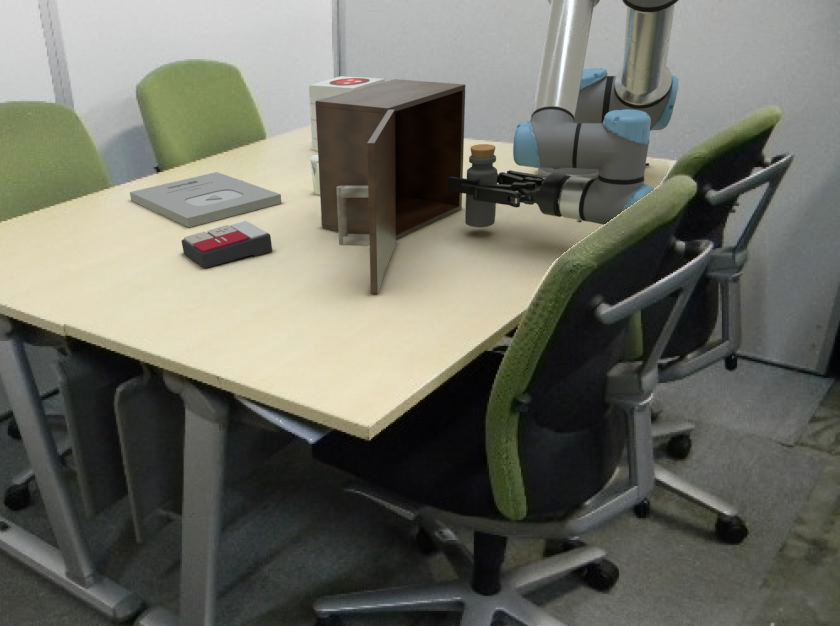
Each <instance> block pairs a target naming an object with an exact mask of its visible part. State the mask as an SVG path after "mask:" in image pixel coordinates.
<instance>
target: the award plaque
mask: <svg viewBox="0 0 840 626" xmlns="http://www.w3.org/2000/svg"><path fill="white" fill-rule="evenodd" d="M129 197H130V201H131V202H133V203H135V204H137V205H139V206H141V207H144V208H146V209H148V210H150V211H152V212H154V213H156V214H159V215H161V216H163V217H165V218H167V219H169V220H171V221H174V222H175V223H178V224H180V225H182V226H184V227H186V228H192V227H196V226H201V225H204V224H207V223H211V222H216V221H219V220H223V219H227V218H231V217H234V216H239V215H242V214H246V213H250V212H254V211H257V210H262V209H265V208H268V207H273V206H277V205H280V204H282V194H281V193H278V192H275V191H272V190H270V189H267V188H264V187H261V186H258V185H255V184H252V183H249V182H247V181H244V180H241V179H238V178H235V177H232V176H230V175H227V174H224V173H221V172H219V171H216V172H211V173H207V174H202V175H198V176H194V177H188V178H185V179H180V180H176V181H171V182H167V183H163V184H159V185H155V186H151V187H145V188H141V189H137V190H132V191H130V192H129Z"/></svg>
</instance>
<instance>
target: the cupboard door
mask: <svg viewBox="0 0 840 626" xmlns="http://www.w3.org/2000/svg"><path fill="white" fill-rule="evenodd" d="M367 160H368V186H337V208H338V231H339V232H338V245H339V246H342V247H343V246H345V247H347V246H348V247H349V246H350V247H353V246H354V247H356V246H357V247H358V246H360V247H369V268H370V269H369V273H370V274H369V275H370V279H369V280H370V294H372V295H378V294H379V292H380V288H381V287H382V286H381V285H382V283H383V280H384V277H385V275H386V271H387V269H388V266H389V264H390V261H391V258H392V256H393V252H394V250H395V247H396V244H397V240H396V202H395V110H388V111H387V113H386V114H385V116H384V117H383V119H382V120H381V122H380V124H379V125H378V127H377V128H376V130H375V131H374V133H373V135H372V136H371V138H370V139H369V141H368V143H367ZM347 198H368V200H369V234H348V223H347Z"/></svg>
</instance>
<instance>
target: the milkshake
mask: <svg viewBox="0 0 840 626" xmlns="http://www.w3.org/2000/svg"><path fill="white" fill-rule="evenodd" d="M309 164H310V165H309V166H310V170H311V171H310V172H311V178H312V186H313V193H314V195H317V196H318V195H319V196H320V181H319V162H318V154H313V155H312V156H311V157H310V158H309Z"/></svg>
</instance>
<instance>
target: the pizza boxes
mask: <svg viewBox="0 0 840 626" xmlns="http://www.w3.org/2000/svg"><path fill="white" fill-rule="evenodd" d="M383 82H386V78H378V77H363V76H362V77H361V76H346V75H345V76H343V75H340V76H337V77H333V78H329V79H326V80H322V81H318V82H316V83H312V84H309V85H308V95H309V96H308V97H309V108H310V110H309V111H310V128H311V131H310V132H311V147H312V148H311V149H312V151H316V152H318V143H317V124H316V105H315V101H317V100H321V99H325V98H328V97H332V96H335V95H339V94H343V93H346V92H350V91H354V90H357V89H361V88H365V87H368V86H372V85H375V84H379V83H383Z"/></svg>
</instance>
